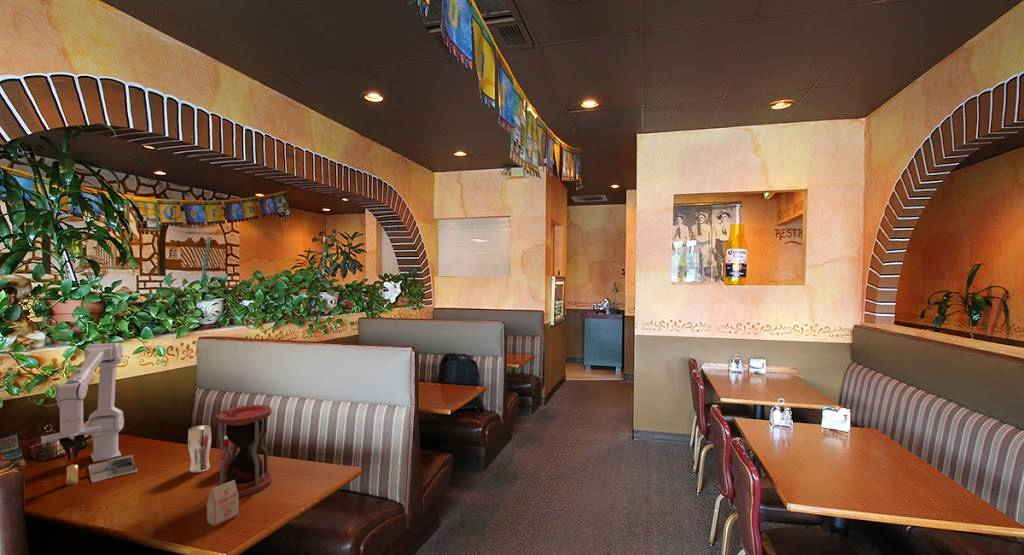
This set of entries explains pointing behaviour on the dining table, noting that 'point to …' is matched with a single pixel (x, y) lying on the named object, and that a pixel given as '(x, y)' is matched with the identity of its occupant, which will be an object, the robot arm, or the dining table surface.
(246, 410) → the hourglass
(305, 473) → the dining table surface
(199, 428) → the beer glass
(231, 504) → the white printed box
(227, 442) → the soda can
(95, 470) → the hinge base
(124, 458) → the grey slotted holder
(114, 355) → the robot arm
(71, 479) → the brass pin
